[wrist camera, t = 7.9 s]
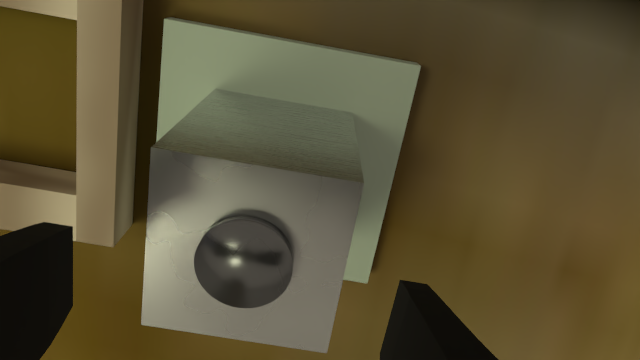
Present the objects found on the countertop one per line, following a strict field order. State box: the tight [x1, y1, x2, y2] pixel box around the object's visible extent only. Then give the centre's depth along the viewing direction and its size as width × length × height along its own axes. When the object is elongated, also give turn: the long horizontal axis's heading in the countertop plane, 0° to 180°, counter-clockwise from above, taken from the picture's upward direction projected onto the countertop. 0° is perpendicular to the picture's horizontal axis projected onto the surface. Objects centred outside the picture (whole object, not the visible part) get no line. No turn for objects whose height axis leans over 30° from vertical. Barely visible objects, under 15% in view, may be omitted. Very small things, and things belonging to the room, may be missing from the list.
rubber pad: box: [156, 17, 421, 283], centre depth 20 cm, size 9×9×1 cm
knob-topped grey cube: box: [141, 89, 364, 353], centre depth 16 cm, size 5×5×7 cm
